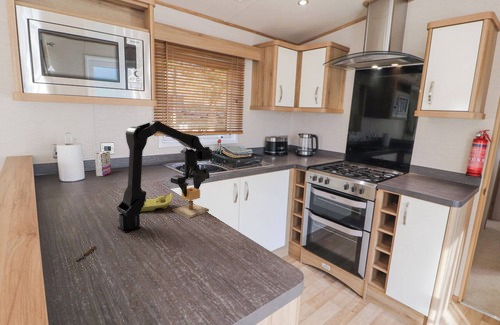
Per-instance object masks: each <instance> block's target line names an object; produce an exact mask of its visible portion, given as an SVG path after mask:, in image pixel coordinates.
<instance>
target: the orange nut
mask: <svg viewBox="0 0 500 325" xmlns="http://www.w3.org/2000/svg"><path fill="white" fill-rule="evenodd" d="M181 199H184V200H186V201H188V202H189V201H191V200H192V201H195V200H197V199H201V189H200V188H199V189H196V188H194V187H193V186H192V187H187V196H186V197H185V196H184V195H183V192H182V191H181Z"/></svg>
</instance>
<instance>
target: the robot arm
mask: <svg viewBox="0 0 500 325" xmlns="http://www.w3.org/2000/svg"><path fill="white" fill-rule="evenodd" d="M156 133H159V134H162V135H163V136H166V137H168V138H171V139H173V140H176V141H177V142H178V143H179V144H180V145H182V146H184V147H183V149H182V150H180V154H184V163H183V164H182V167H184V172H182V175H172V176H171V177H170V183H172V184H175V185H178V187H179V188H180V191H181V193H182V192H183V195H184V196H185V197H186V196H187V188H188V186H189V185H190V184H189V182H188V181H189V180H190V181H191V180H192V181H193V188H196V189H199V190H200V187H201V185H202V183H203V182H205V181H206V180H207V179H210V173H209V171H210V169H208V168H204V169H201V168H200V166H201V165H200V164H198V162H205V161H206V162H208V161H211V160H212V158H213V153H212V151H211V149H210V146H203V144H202V143H201V141H200V140H201V139H200V137H199V136H198V135H194V134H190V133H185V132H182V131H180V130H177V129H175V128H173V127H171V126H169V125H167V124H165V123H162V121H159V120H152V121H151V120H150V121H149V122H147V123H144V124H141V125H137V126H130V127H128V128H126V131H125V139H126V140H125V141H126V144H127V146H128V150H129V151H128V152H129V154H128V155H129V157H128V172H127V173H128V175H127V176H128V177H127V178H128V179H127V187H126V189H125V190H124V192H123V197H122V200H121V202H120V203H119V204H118V206H116V210H117V212H118V213H119V214H118V218H119V220H118V221H119V226H117V229H119V230H120V231H122V232H123V233H130V232H133V231H135V230H139V229H141V228H142V226H141V219H140V218H141V216H140V215H141V212H142V211H141V209H142V207H143V206H144V203H145V202H146V198H147V191H145V190H143V189H142V171H143V169H142V168H143V154H144V152H143V151H144V149H145V147H146V146H147V143H148V138H150V137H153V136H154V135H155V134H156Z"/></svg>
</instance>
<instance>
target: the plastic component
mask: <svg viewBox="0 0 500 325" xmlns="http://www.w3.org/2000/svg"><path fill="white" fill-rule="evenodd" d="M173 194H174V192H170V193H169V194H167V195H166V194H164V195H160V196H157V197H156V198H147V199H146V202H145V203H144V206H143V207H142V209H141V212H149V211H156V209H160V208H161V209H162V210H163V209H167V208H168V206H169V204H171V203H172V201H173Z"/></svg>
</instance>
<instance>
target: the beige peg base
mask: <svg viewBox="0 0 500 325" xmlns="http://www.w3.org/2000/svg"><path fill="white" fill-rule="evenodd" d="M172 212H173V213H176V214H178V215H181V216H183V217H186V218H188V219H191V218H193V217H196V216H200V215H201V214H204V213H207V212H210V209H209V208H208V207H207V208H206V207H204V206H201V205H198V204H196V203H194V200H191V201H189V200H188V204H185V205H183V206H179V207H176V208H172Z"/></svg>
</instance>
